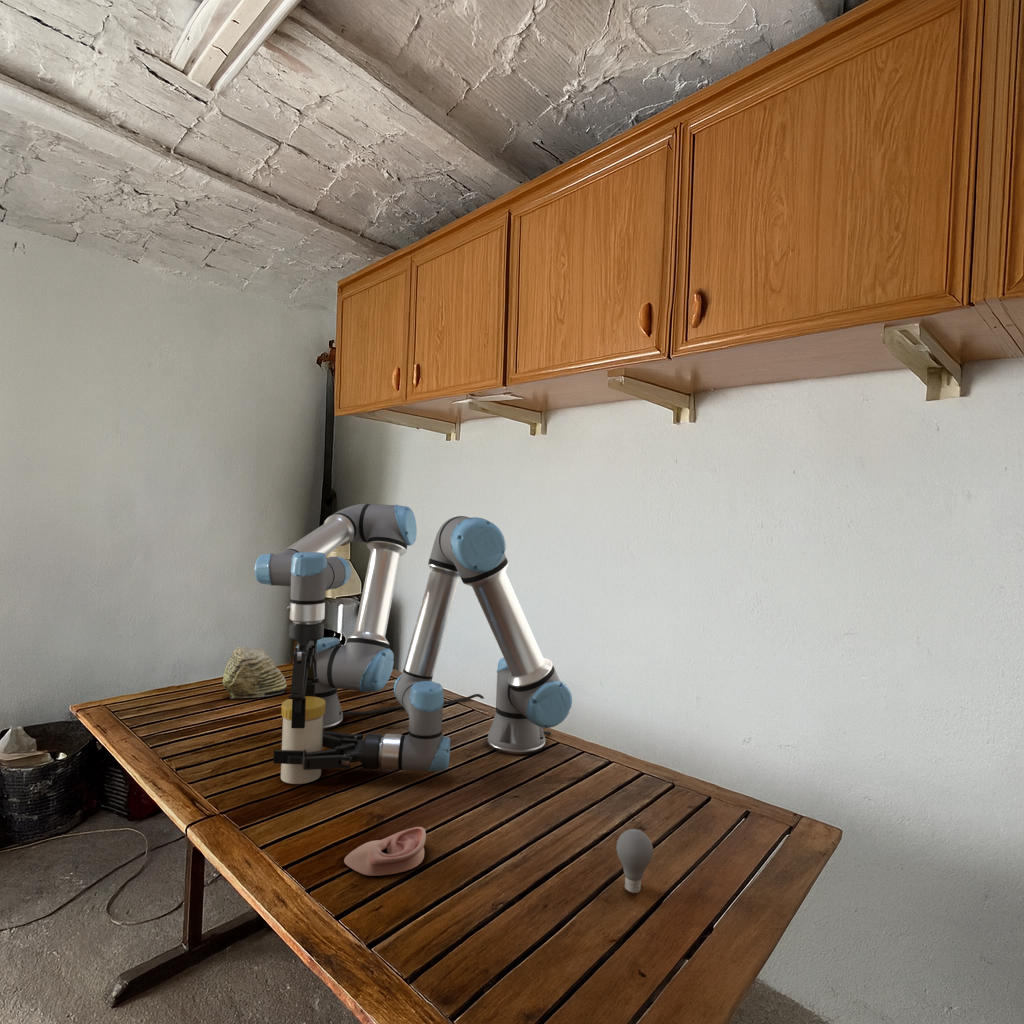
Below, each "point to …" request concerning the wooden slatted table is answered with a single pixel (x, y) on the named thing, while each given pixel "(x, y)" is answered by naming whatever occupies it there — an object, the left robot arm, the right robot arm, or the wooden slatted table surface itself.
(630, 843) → the light bulb
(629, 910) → the wooden slatted table surface
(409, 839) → the anatomical model
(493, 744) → the right robot arm
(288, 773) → the jar
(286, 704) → the lid
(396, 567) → the left robot arm
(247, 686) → the fossil
